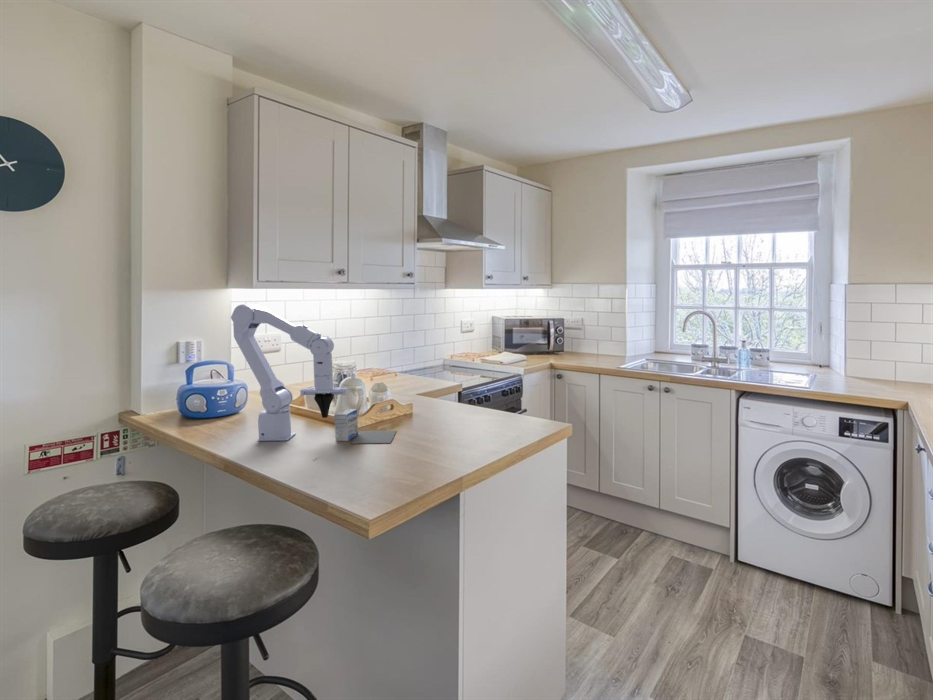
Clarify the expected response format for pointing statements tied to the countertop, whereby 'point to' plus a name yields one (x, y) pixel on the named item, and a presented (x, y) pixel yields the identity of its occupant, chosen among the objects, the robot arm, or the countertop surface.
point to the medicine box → (346, 425)
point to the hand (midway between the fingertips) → (325, 417)
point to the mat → (374, 437)
